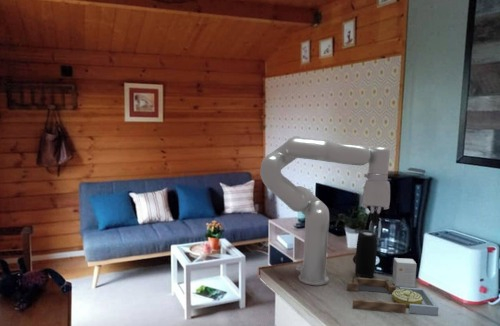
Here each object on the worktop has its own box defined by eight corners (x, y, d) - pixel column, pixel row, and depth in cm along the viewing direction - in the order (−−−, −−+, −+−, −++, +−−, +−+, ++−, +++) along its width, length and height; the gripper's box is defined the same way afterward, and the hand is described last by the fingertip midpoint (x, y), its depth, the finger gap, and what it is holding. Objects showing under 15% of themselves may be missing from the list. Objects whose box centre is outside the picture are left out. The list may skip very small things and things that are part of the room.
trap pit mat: (358, 290, 166) (358, 290, 166) (356, 285, 170) (356, 285, 170) (387, 293, 164) (387, 292, 164) (385, 288, 169) (385, 287, 169)
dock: (409, 313, 148) (410, 305, 148) (398, 294, 164) (399, 286, 164) (437, 315, 147) (438, 307, 147) (423, 296, 163) (424, 288, 163)
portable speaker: (354, 277, 178) (357, 234, 176) (354, 270, 187) (357, 228, 185) (374, 280, 176) (378, 236, 174) (374, 273, 185) (377, 230, 183)
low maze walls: (353, 308, 150) (353, 300, 150) (345, 283, 172) (345, 276, 172) (405, 312, 148) (406, 304, 148) (391, 287, 170) (391, 280, 170)
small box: (411, 282, 176) (413, 258, 175) (414, 288, 171) (417, 263, 169) (391, 281, 177) (393, 257, 176) (394, 286, 171) (397, 262, 170)
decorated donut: (406, 294, 164) (407, 285, 164) (428, 306, 155) (429, 296, 154) (386, 298, 160) (387, 289, 159) (407, 310, 150) (408, 300, 150)
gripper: (359, 177, 162) (356, 223, 164) (399, 180, 160) (395, 226, 163) (357, 175, 169) (353, 218, 172) (394, 177, 168) (390, 221, 170)
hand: (374, 222), depth 167 cm, fingers closed
